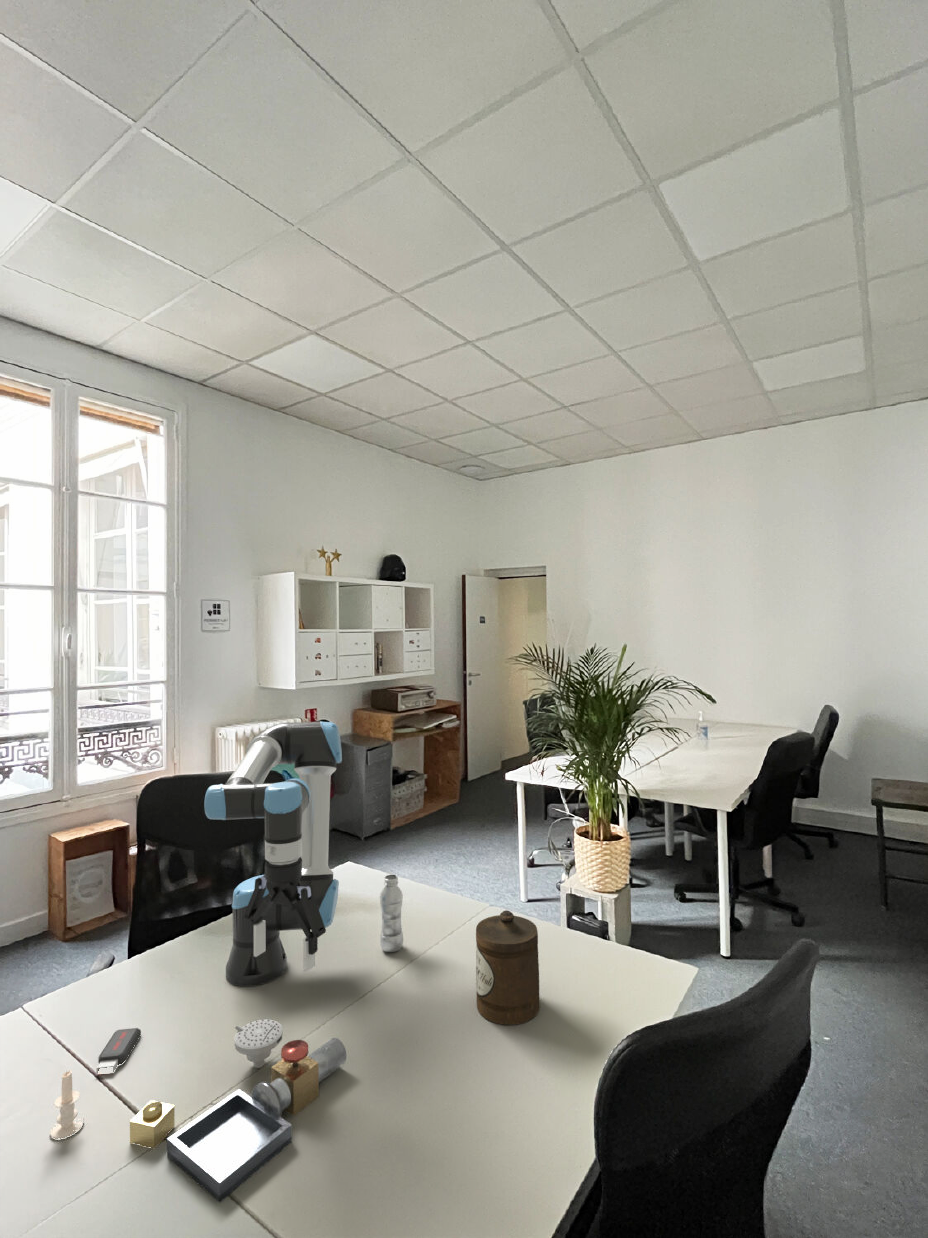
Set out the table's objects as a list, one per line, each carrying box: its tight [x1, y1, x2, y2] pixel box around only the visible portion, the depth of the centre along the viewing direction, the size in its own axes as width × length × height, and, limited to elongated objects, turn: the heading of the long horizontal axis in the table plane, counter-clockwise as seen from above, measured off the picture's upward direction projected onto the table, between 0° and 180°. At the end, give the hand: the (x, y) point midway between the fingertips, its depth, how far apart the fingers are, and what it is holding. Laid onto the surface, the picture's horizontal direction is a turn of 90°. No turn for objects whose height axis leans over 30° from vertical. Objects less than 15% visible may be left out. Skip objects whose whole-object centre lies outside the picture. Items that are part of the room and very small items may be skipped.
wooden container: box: [475, 910, 541, 1026], centre depth 149 cm, size 15×15×22 cm
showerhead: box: [233, 1018, 284, 1069], centre depth 130 cm, size 9×7×10 cm
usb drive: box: [95, 1027, 142, 1073], centre depth 133 cm, size 5×12×3 cm, turn 8°
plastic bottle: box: [379, 874, 404, 953], centre depth 175 cm, size 6×7×20 cm
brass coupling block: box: [129, 1100, 176, 1149], centre depth 112 cm, size 5×5×5 cm
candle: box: [49, 1070, 83, 1139], centre depth 113 cm, size 5×5×10 cm
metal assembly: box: [166, 1037, 348, 1203], centre depth 116 cm, size 15×32×10 cm, turn 145°
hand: (283, 961), depth 132 cm, fingers open, 13 cm apart
